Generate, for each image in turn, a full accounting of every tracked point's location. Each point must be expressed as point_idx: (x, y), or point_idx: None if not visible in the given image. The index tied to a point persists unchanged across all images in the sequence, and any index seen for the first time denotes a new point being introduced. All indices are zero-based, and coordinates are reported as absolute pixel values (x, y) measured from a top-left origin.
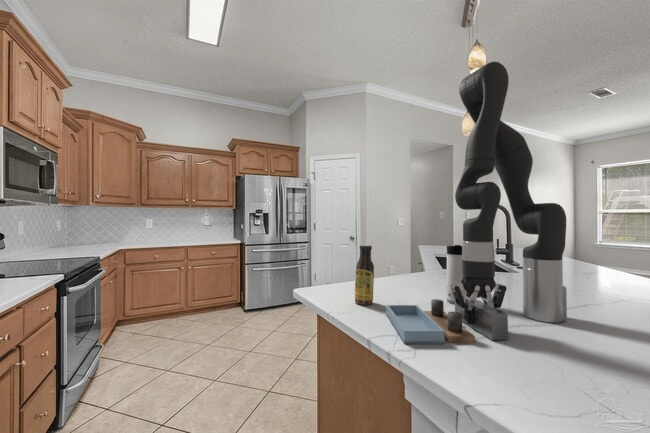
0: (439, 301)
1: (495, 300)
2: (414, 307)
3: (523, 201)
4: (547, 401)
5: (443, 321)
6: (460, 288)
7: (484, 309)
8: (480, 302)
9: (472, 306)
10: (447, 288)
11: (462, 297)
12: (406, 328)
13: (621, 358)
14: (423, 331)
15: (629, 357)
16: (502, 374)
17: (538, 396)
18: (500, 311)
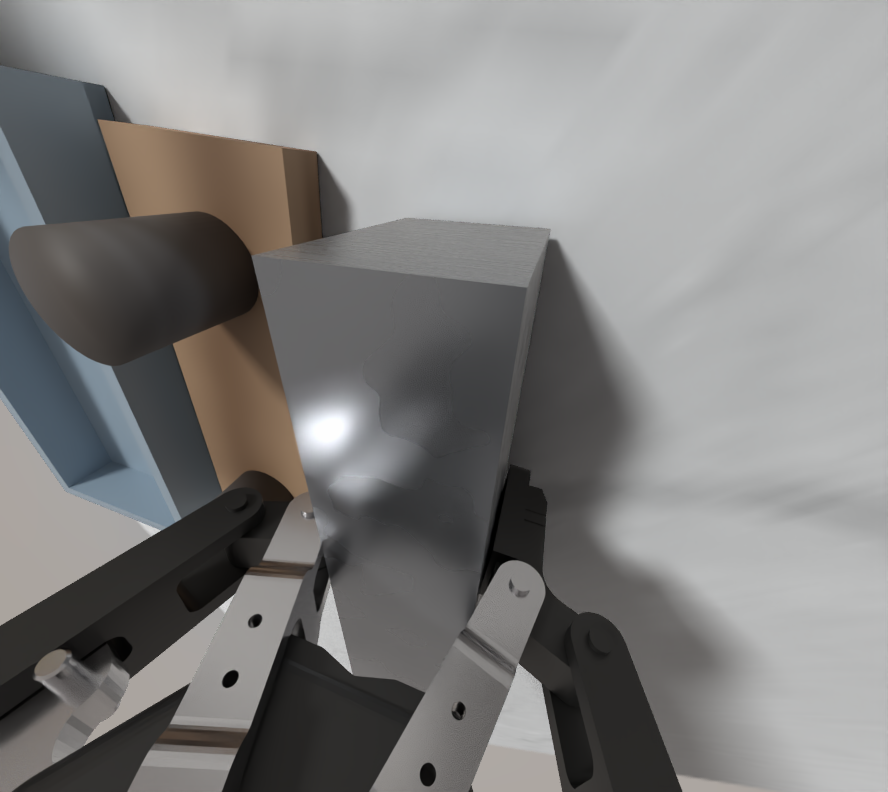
0: (95, 329)
1: (608, 697)
2: None
3: None
4: None
5: (237, 393)
6: (67, 728)
7: (364, 653)
8: (452, 582)
9: (326, 581)
10: None
11: (185, 629)
12: (88, 373)
13: (772, 767)
14: (126, 513)
15: (821, 782)
16: (326, 627)
17: (348, 668)
18: None
